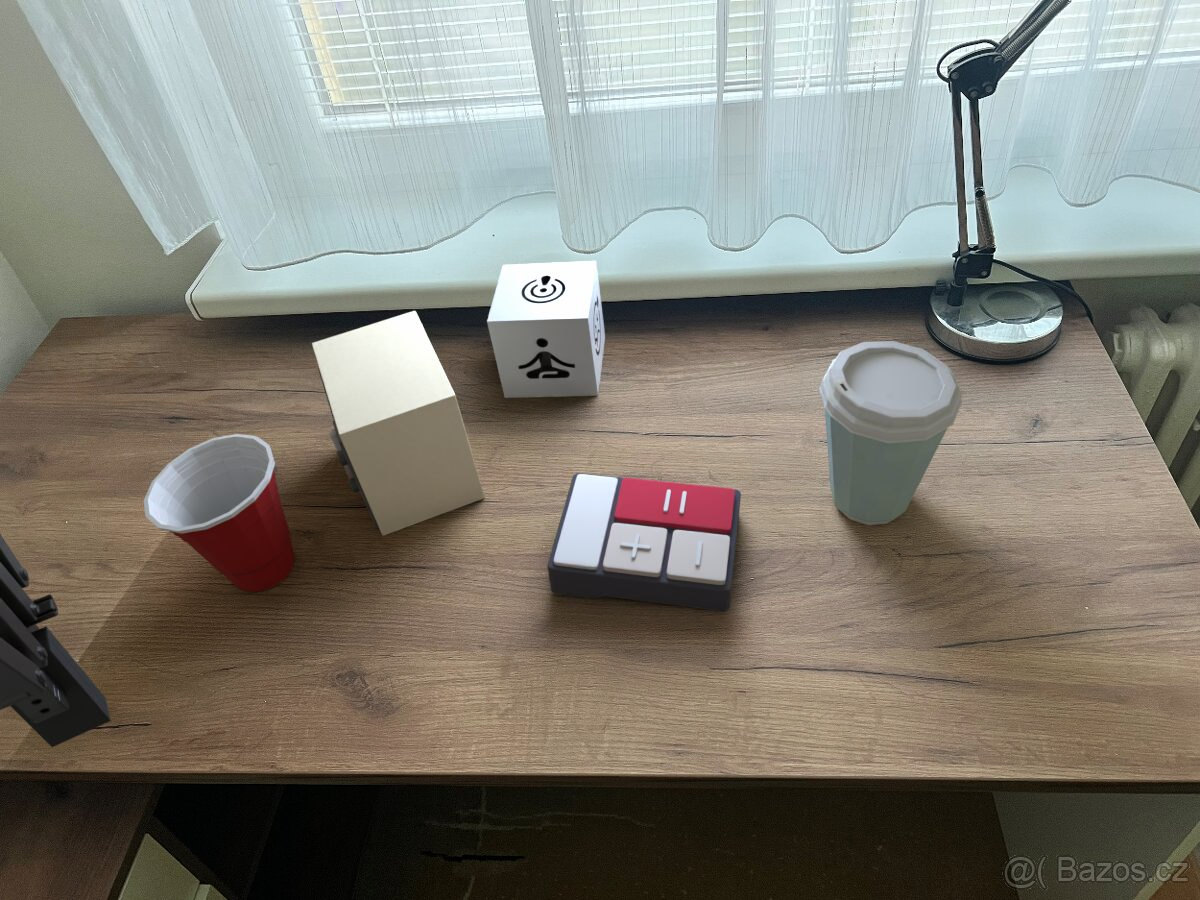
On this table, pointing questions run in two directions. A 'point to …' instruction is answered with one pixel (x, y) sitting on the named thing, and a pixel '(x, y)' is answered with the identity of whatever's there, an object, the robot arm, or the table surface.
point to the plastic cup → (226, 509)
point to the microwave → (397, 423)
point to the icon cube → (548, 329)
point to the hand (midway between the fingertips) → (79, 721)
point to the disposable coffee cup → (884, 425)
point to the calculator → (646, 542)
